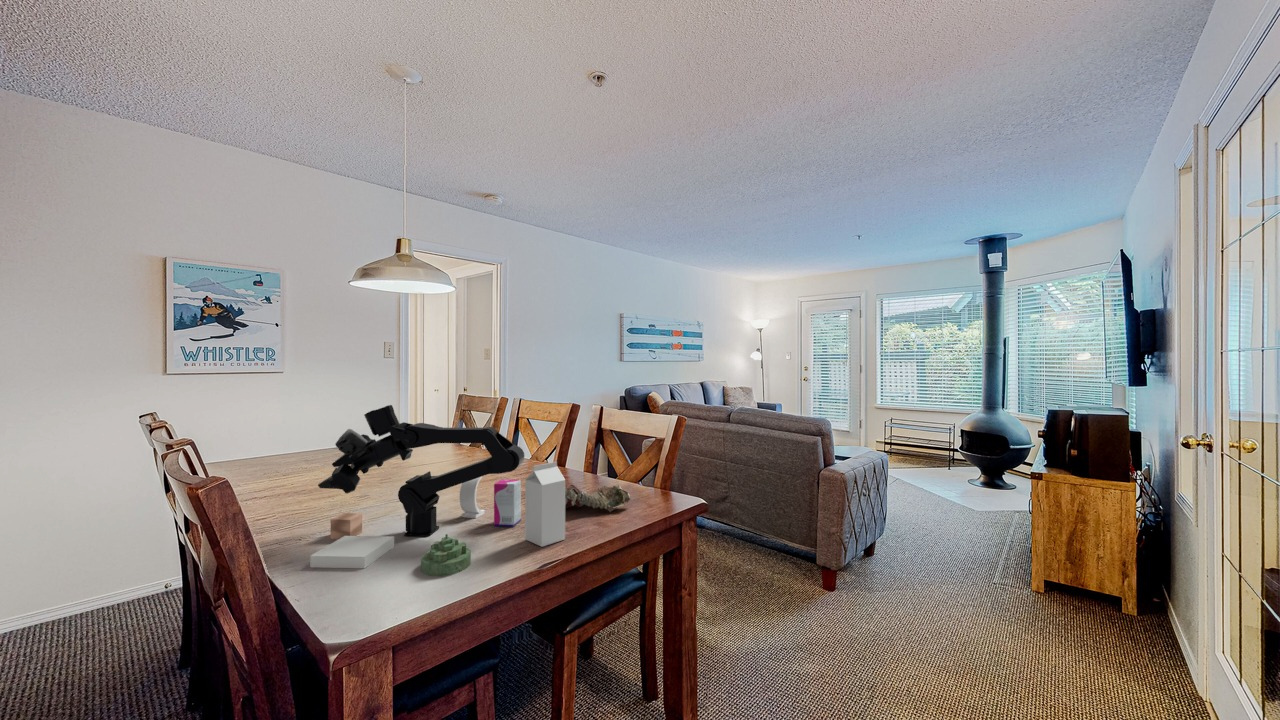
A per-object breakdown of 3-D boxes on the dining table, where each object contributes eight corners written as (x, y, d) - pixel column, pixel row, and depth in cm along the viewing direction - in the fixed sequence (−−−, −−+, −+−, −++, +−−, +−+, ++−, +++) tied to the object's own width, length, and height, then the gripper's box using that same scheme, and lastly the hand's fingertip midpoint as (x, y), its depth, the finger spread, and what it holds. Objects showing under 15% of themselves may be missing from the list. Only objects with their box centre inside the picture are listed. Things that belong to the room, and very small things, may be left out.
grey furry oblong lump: (619, 496, 162) (619, 472, 161) (637, 510, 147) (636, 484, 147) (544, 505, 153) (543, 480, 152) (554, 521, 138) (554, 493, 138)
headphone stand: (485, 512, 144) (485, 471, 144) (474, 519, 139) (474, 476, 138) (470, 511, 145) (470, 471, 145) (459, 518, 139) (459, 475, 139)
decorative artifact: (455, 553, 115) (412, 567, 107) (455, 523, 115) (412, 535, 107) (479, 565, 108) (436, 581, 101) (479, 533, 108) (436, 546, 101)
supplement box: (521, 520, 138) (521, 479, 138) (514, 527, 132) (514, 484, 132) (501, 519, 139) (501, 478, 139) (493, 526, 133) (493, 483, 133)
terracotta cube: (362, 532, 128) (362, 513, 128) (350, 539, 123) (350, 519, 123) (343, 532, 128) (343, 513, 128) (330, 539, 123) (330, 519, 123)
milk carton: (565, 539, 123) (565, 463, 123) (541, 547, 118) (542, 468, 118) (548, 532, 128) (548, 459, 128) (524, 540, 123) (525, 463, 123)
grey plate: (394, 546, 118) (394, 536, 118) (364, 568, 106) (364, 556, 106) (344, 546, 119) (344, 535, 119) (310, 567, 107) (310, 555, 107)
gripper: (374, 409, 133) (320, 433, 133) (350, 446, 116) (288, 473, 116) (398, 440, 138) (346, 463, 137) (378, 481, 121) (319, 507, 121)
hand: (326, 475), depth 128 cm, fingers open, 9 cm apart
